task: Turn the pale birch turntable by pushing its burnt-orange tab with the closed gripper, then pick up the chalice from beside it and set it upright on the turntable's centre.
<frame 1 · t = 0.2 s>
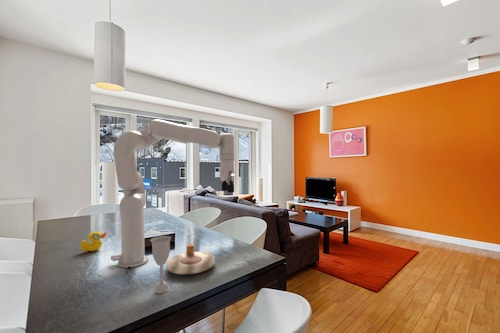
hand: (227, 191, 122), 30 cm above the table, tool pointing down, fingers open, 9 cm apart
turntable: (191, 257, 103), point 5 cm above the table, hinge at 0.0°
chalice: (161, 289, 85), on the table
duckling: (93, 251, 126), on the table
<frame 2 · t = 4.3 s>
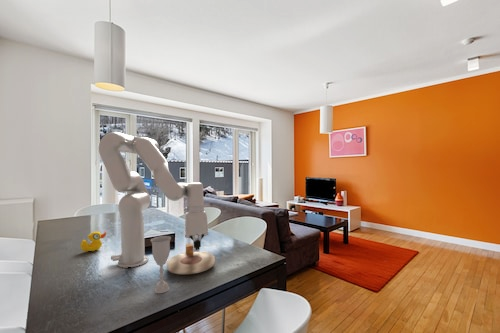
hand: (197, 248, 111), 5 cm above the table, tool pointing down, fingers closed
turntable: (191, 257, 103), point 5 cm above the table, hinge at 2.1°, touching gripper
everything else where it was.
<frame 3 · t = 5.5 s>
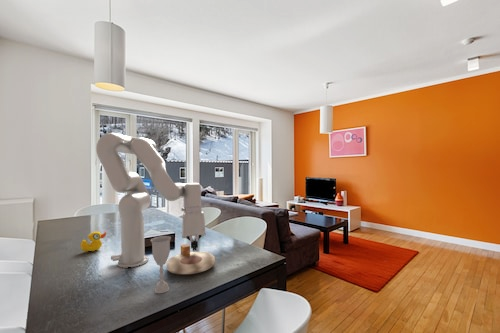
hand: (194, 249, 110), 5 cm above the table, tool pointing down, fingers closed
turntable: (191, 257, 103), point 5 cm above the table, hinge at 15.9°
everything else where it was.
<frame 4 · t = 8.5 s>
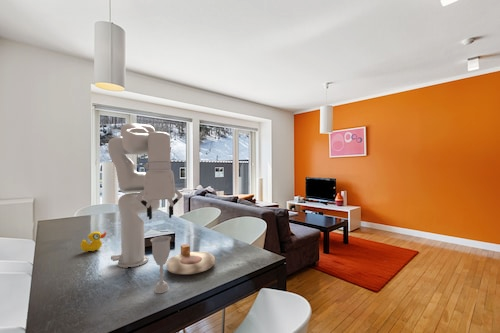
hand: (160, 217, 85), 26 cm above the table, tool pointing down, fingers open, 6 cm apart
nothing on the table moved.
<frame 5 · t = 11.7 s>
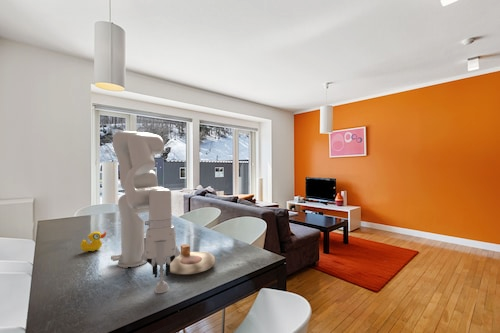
hand: (161, 274, 85), 5 cm above the table, tool pointing down, fingers closed on chalice, 3 cm apart
chalice: (161, 289, 85), on the table, touching gripper
everything else where it was.
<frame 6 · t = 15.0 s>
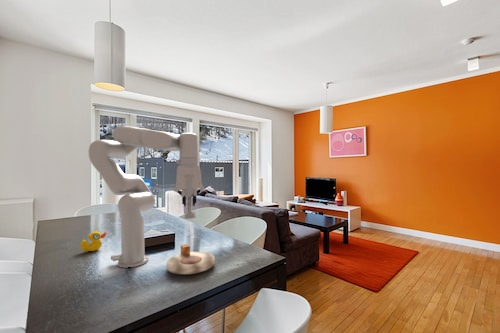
hand: (189, 205, 102), 27 cm above the table, tool pointing down, fingers closed on chalice, 3 cm apart
chalice: (189, 217, 102), point 22 cm above the table, touching gripper
everything else where it was.
when the fingers open (9 cm above the table, at t = 18.8 s): chalice stays where it is, resting on turntable.
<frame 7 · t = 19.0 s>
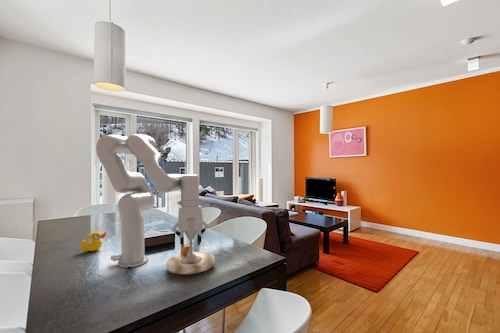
hand: (190, 244, 103), 10 cm above the table, tool pointing down, fingers open, 6 cm apart
turntable: (191, 257, 103), point 5 cm above the table, hinge at 15.9°, touching chalice
chalice: (191, 260, 103), point 3 cm above the table, touching turntable
everything else where it was.
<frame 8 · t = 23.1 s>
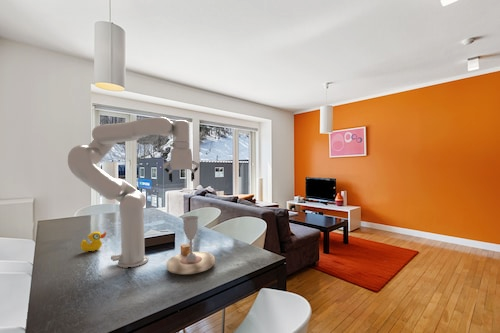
hand: (181, 181, 116), 36 cm above the table, tool pointing down, fingers open, 9 cm apart
nothing on the table moved.
at the end: turntable at +16° (first picture: +0°); chalice 0.0 cm off-centre on the turntable, point 3.4 cm above the turntable's base; chalice tilted 0° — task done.
